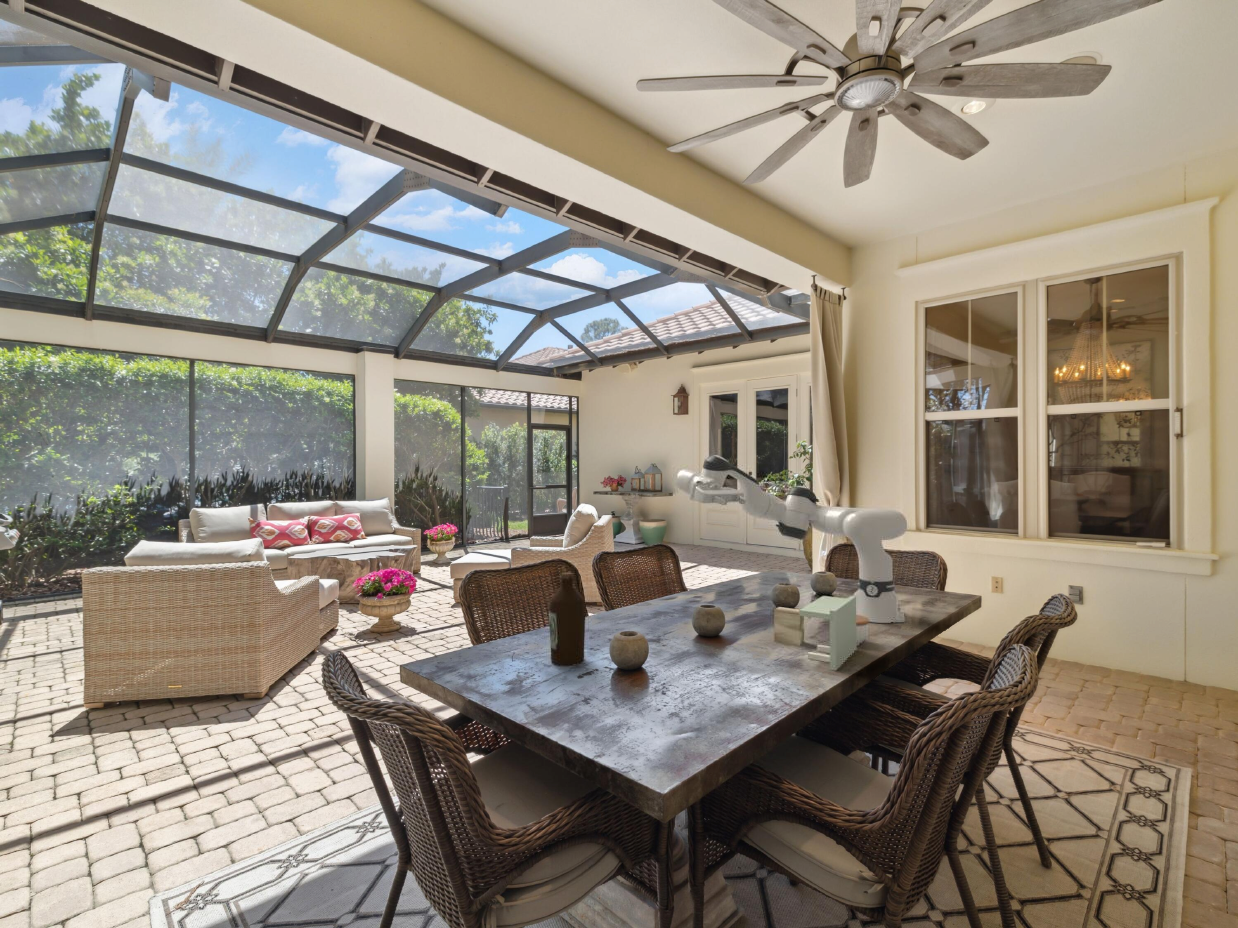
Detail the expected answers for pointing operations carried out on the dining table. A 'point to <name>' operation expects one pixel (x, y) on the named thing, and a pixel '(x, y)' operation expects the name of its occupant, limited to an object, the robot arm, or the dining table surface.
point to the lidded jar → (861, 628)
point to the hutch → (835, 628)
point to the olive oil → (567, 624)
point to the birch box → (788, 626)
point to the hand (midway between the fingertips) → (734, 502)
